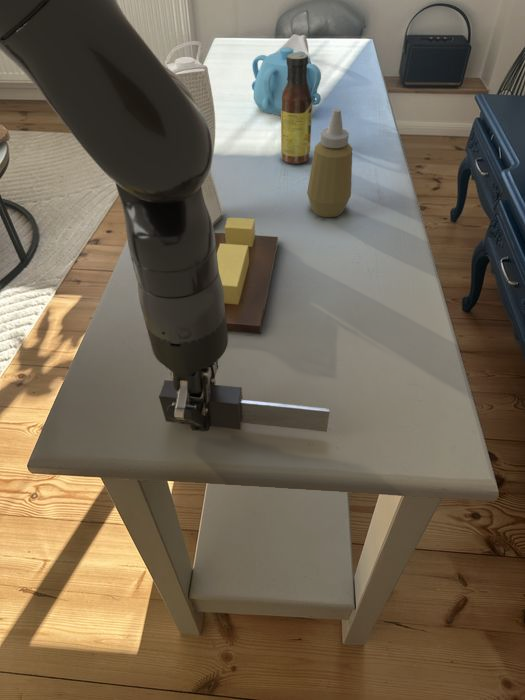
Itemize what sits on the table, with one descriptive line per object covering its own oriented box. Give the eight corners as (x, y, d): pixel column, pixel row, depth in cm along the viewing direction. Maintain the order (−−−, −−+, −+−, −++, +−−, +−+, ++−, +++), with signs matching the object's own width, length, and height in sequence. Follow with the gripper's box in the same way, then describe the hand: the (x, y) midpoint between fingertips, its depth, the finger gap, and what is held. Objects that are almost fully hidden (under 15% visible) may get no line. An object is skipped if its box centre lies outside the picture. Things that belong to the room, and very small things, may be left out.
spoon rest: (305, 83, 136) (307, 54, 130) (264, 80, 138) (264, 52, 132) (318, 56, 151) (320, 30, 146) (282, 54, 153) (282, 28, 148)
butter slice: (226, 245, 81) (224, 227, 78) (229, 235, 83) (227, 217, 80) (252, 247, 80) (251, 229, 78) (255, 236, 82) (254, 218, 80)
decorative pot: (322, 120, 119) (327, 58, 109) (257, 123, 117) (256, 61, 107) (310, 95, 130) (314, 37, 120) (251, 98, 128) (249, 39, 118)
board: (178, 326, 70) (176, 318, 69) (210, 239, 85) (209, 231, 84) (260, 333, 69) (259, 326, 68) (277, 243, 84) (278, 236, 82)
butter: (208, 302, 71) (206, 283, 69) (221, 261, 78) (220, 243, 75) (238, 304, 71) (237, 286, 68) (249, 263, 77) (248, 245, 75)
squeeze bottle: (343, 224, 87) (357, 123, 74) (300, 217, 89) (306, 116, 76) (353, 202, 92) (366, 103, 79) (312, 195, 94) (319, 98, 81)
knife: (165, 421, 57) (158, 396, 54) (171, 405, 59) (164, 379, 55) (326, 439, 55) (330, 413, 51) (327, 421, 57) (331, 395, 53)
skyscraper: (195, 204, 93) (173, 36, 72) (231, 213, 90) (220, 42, 70) (170, 226, 88) (140, 52, 67) (208, 237, 85) (189, 60, 65)
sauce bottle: (313, 163, 103) (320, 59, 89) (285, 167, 102) (288, 63, 88) (303, 150, 108) (308, 49, 93) (276, 154, 107) (277, 52, 92)
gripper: (166, 262, 50) (187, 370, 63) (120, 362, 41) (156, 465, 53) (237, 267, 49) (244, 376, 62) (208, 371, 40) (223, 473, 52)
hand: (203, 417), depth 57 cm, fingers closed on knife, 2 cm apart
